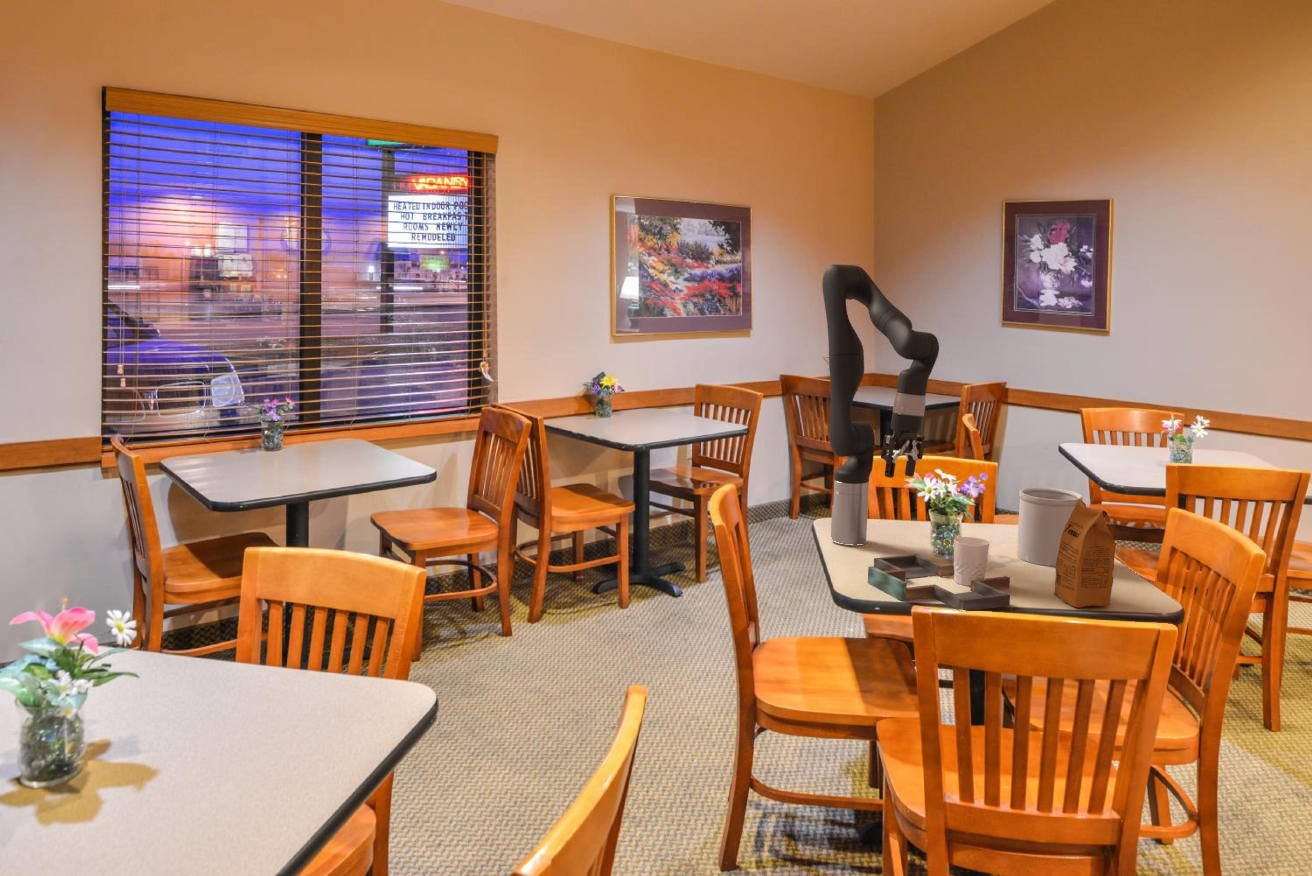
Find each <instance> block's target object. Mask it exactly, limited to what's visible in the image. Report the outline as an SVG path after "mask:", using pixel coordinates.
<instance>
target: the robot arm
mask: <svg viewBox="0 0 1312 876" xmlns="http://www.w3.org/2000/svg"><path fill="white" fill-rule="evenodd" d="M821 282H822V285H821V286H822V295H823V302H824V310H825V315H826V316H825V317H826V324H827V325H826V326H827V339H828V342H827V343H828V365H829V366H828V367H829V368H828V369H829V377H830V378H829V381H830V412H829V416H830V417H829V435H828V436H829V444H830V449H831V450H832V452H833V454H834V455H835V456H837V457H838V458H839V457H840V458H847V460H846V461H845V462H844V463H843V464H841V465H840V466H839V467H837V468H836V469H835V471H834V482H833V483H834V485H833V486H834V487H833V504H832V506H831V526H830V529H831V530H830V538H831V537H832V539H831V541H832V540H833V541H836V542H839V543H843V544H853V545H857V544H864V543H865V542H866V543H867V534H868V533H867V530H868V512H869V511H868V510H869V493H870V492H869V491H870V490H869V489H870V488H869V487H870V476H871V473H872V471H873V465H874V457H875V456H874V454H875V445H876V436H875V431H874V429H873V427H872V426H871V424H870V423H868V422H866V421H860V420H859V421H852V406H853V401H854V398H855V396H856V394H857V391H858V389H859V388H860V386H861V383H862V381H863V378H864V374H865V357H864V356H865V354H864V353H865V351H864V346H863V344H862V341H861V339H860V337H859V335H858V334H857V331H856V330H855V328H854V327H853V325H852V324H851V321H850V318H849V314H848V309H847V300H851V301H852V300H854V301H857V302H859V303H860V304H862V305H864V306H865V307H866V308H867V310H868V315H869V319H870V322H871V323H872V325H873V326H874V327H875V328H876V329H877V330H878V331H879V332H880V333H881V334H882V335H884V336H885V337H886V338H887V339H888V341H889V343H890V345H891V346H892V348H893V349H894V352H896V353H897V355H898V356H899V357H901V358H903V359H905V360H908V361H909V360H911V361H912V362H911V363H910V364H911V365H910V367H908V368H906V369H903V370H901V371H900V372H899V375H898V380H897V386H896V394H895V397H894V401H893V406H892V407H893V408H892V414H891V420H890V421H891V422H890V429H891V430H892V431H893V434H892V435H890V434H885V435H884V437H883V441H882V442H883V443H882V447H881V453H880V458H881V459H882V460H883V461H885V469H884V476H885V477H886V478H890V479H892V478H894V477H895V470H896V461H898V458H899V457H901V456H902V455H903V454H904V455H905V457H906V464H905V469H904V470H905V471H904V475H905V476H907V477H910V478H911V477H914V476H915V471H916V464H917V462H918V461H919V460H923V456H924V455H923V454H924V447H925V440H926V439H925V438H926V437H925V436H923V435H920V434H921V433H922V431H923V424H924V419H925V418H924V416H925V410H926V398H927V397H926V395H927V389H928V382H929V381H928V380H929V378H930V375H931V373H932V371H933V369H934V366H935V364H936V361H937V359H938V357H939V354H940V343H939V340H938V338H937V336H936V335H935V334H934V333H932V332H926V331H919V330H918V331H917V330H914V329H913V323H912V321H911V320H910V318H909V317H908V316H907V315H905V313H903V312H902V310H899V308H897V307H896V306H895V305H894V304H893V303H892V302H891V301H890V300H889V299H888V298H887V297H886V296H885V294H883V292H882V291H881V290H880V288H879V287H878V286H877V284H876V283H875V281H874V280H873V279H872V278H871V276H870V275H869V274H868V273H867V272H866V270H865V269H863V268H862V267H861V266H859V265H854V264H836V263H835V264H831V265H828V267H826V269H825V270H824V273H823V276H822V281H821ZM864 545H865V544H864Z"/></svg>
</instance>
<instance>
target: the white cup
mask: <svg viewBox="0 0 1312 876" xmlns="http://www.w3.org/2000/svg"><path fill="white" fill-rule="evenodd" d="M989 549H990V541H988V540H985V539H983V538H979V537H972V536H959V537H955V538H954V539H953V564H954V577H953V581H954V582H955V583H956V584H958V583H959V584H958V585H962V586H966V587H971V580H978V579H986V578H985V577H986V573H987V565H988V558H989Z"/></svg>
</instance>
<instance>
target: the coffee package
mask: <svg viewBox="0 0 1312 876" xmlns="http://www.w3.org/2000/svg"><path fill="white" fill-rule="evenodd" d="M1108 516H1109V514H1108V512H1107V511H1105V509H1101V508H1093V507H1087V504H1086V503H1085V502H1084V501H1083V499H1082V500H1078V502H1077V503H1076V506H1075V508H1074V509H1073V511H1072V513H1071V516H1070V518H1069V520H1068V521H1067V523H1066V525H1065V528H1064V531H1063V533H1062V537H1061V541H1060V545H1059V550H1058V555H1057V559H1056V566H1055V580H1054V592H1053V594H1054V595H1055V596H1058V597H1059V599H1060V600H1061V602H1063V603H1065V604H1066V605H1069V606H1072V607H1074V608H1077V609H1078V608H1079V609H1080V608H1085V607H1105V606H1110V605H1111V597H1112V590H1113V585H1114V584H1113V583H1114V580H1115V579H1114V569H1115V556H1116V542H1115V541H1116V540H1115V538H1114V537H1113V535H1112V533H1111V530H1110V529H1109V527H1108V526H1107V524H1106V521H1105V518H1107V517H1108Z"/></svg>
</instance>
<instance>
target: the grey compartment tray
mask: <svg viewBox="0 0 1312 876" xmlns="http://www.w3.org/2000/svg"><path fill="white" fill-rule="evenodd" d="M867 568H868V570H867V584H868V583H869V585H870V586H872V587H874V588H875V589H878V590H879V591H881V592H883V593H885V594H887V595H889V596H891V597H892V598H895V599H897V600H898V601H901V602H904V601H913V600H920V599H922V600H923V599H928V598H932V599H933V598H934V599H936V600H937V601H939V602H941V603H944V604H946V605H947V606H950V607H951V608H954V609H955V608H956V610H958V609H963V610H974V611H980V610H988V609H995V608H1003V607H1010V602H1011V601H1010V600H1011V594H1009V593H1007V592H1004V591H1002V590H1003V589H1004V590H1005V589H1010V587H1011V586H1010V584H1011V577H1010V576H1006V575H1005V576H998V577H997V576H996V577H989V578H985V579H978V580H971V586H970V588H969V589H970V590H969V591H966V592H958V593H954V592H951V591H949V590H948V589H945V588H943V587H941V586H939V585H936V584H927V585H926V584H925V585H917V586H909V587H908V585H907V584H908V583H907V582H905V581H906V580H909V579H918V578H926V577H928V576H929V577H939V576H940V578H943V576H945V577H951V576H952V575H954V563H951V564H949V563H948V564H940V563H938V562H936V561H933V560H931V559H928V558H927V557H924V556H922V555H920V554H917V553H913V554H911V553H910V554H901V555H894V556H885V557H884V556H882V557H881V556H880V557H874V558H873V565H872V566H868V567H867Z"/></svg>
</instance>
